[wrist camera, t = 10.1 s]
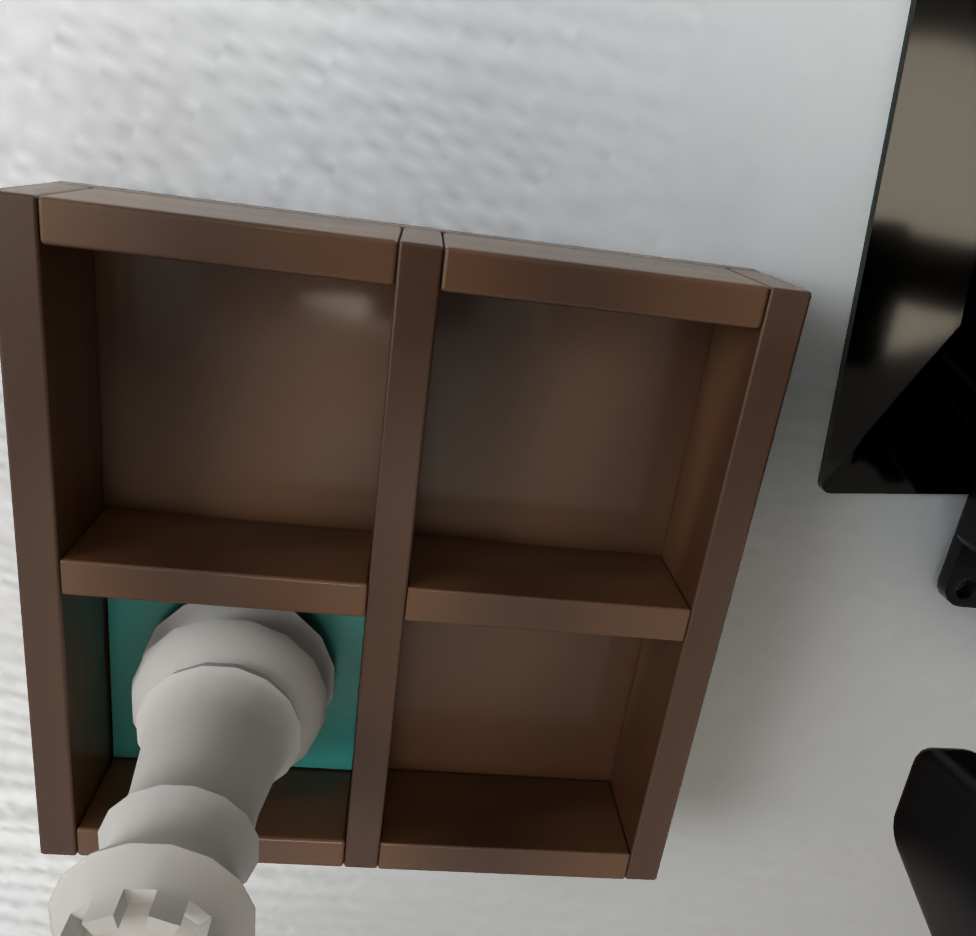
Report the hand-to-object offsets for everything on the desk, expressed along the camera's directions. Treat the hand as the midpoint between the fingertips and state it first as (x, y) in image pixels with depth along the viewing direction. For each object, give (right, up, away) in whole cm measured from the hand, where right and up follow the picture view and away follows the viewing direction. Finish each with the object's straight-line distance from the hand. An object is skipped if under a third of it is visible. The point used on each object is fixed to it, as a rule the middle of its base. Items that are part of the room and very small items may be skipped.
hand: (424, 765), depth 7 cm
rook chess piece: (-5, -2, +13) cm, 14 cm away
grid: (-2, +1, +13) cm, 13 cm away
